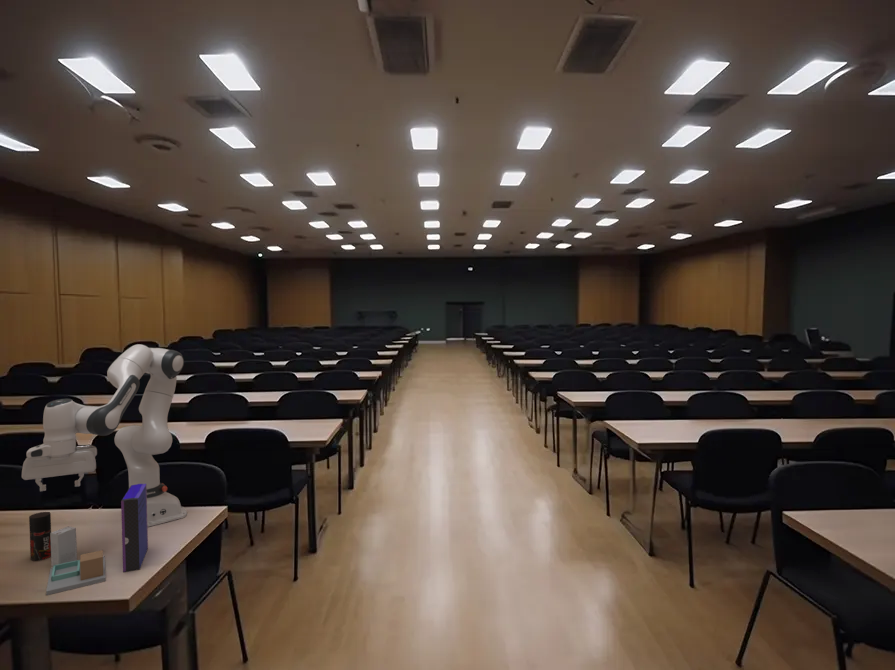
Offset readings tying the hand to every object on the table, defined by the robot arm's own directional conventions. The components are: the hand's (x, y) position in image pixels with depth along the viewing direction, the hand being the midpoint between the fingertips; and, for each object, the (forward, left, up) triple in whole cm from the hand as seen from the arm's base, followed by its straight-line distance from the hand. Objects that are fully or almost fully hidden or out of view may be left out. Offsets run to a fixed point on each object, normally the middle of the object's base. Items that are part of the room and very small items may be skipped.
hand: (60, 488), depth 177 cm
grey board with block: (-4, +13, -26) cm, 29 cm away
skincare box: (0, 0, -27) cm, 27 cm away
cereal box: (-21, +10, -27) cm, 35 cm away
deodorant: (+7, -11, -26) cm, 29 cm away
